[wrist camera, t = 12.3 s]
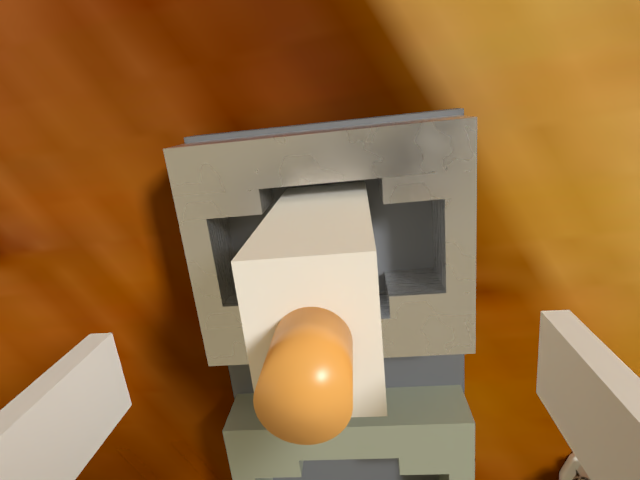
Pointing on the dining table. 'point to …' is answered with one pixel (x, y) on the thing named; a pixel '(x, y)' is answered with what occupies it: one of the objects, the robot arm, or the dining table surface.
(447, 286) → the socket
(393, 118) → the board
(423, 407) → the grey-green cross cutout frame
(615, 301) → the dining table surface
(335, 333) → the plug
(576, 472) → the decorative candle
